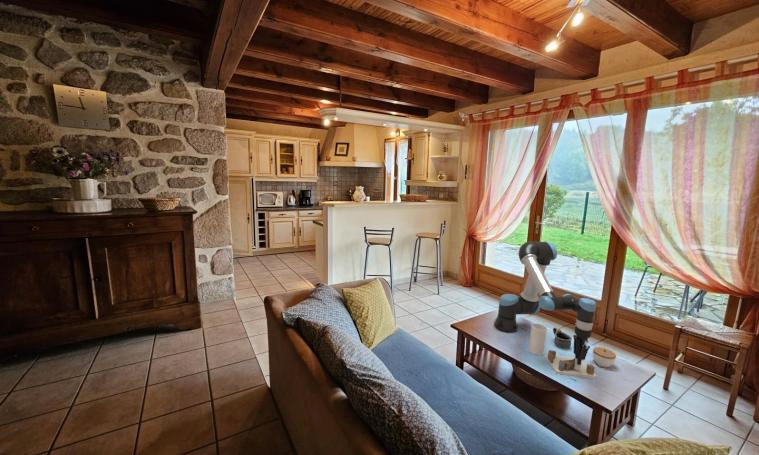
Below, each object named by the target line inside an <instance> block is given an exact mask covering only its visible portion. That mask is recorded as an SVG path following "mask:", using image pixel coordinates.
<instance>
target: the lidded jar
mask: <svg viewBox="0 0 759 455" xmlns="http://www.w3.org/2000/svg"><path fill="white" fill-rule="evenodd" d="M592 357H593V361H594V362H595V364H596V365H598V366H600V367H602V368H610V367H611V366H613V365H614V364H615V362H616V358H617V354H616V353H615V352H614V351H612V350H610V349H607V348H605V347H601V346H599V347H598V346H597V347H596V346H595V347H593V350H592Z"/></svg>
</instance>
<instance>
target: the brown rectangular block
mask: <svg viewBox="0 0 759 455" xmlns="http://www.w3.org/2000/svg"><path fill="white" fill-rule="evenodd" d="M564 362H565V366H564V370H566V371H568V370H576V369H574V364H575V357H574V359H573V360H565V361H564Z"/></svg>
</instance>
